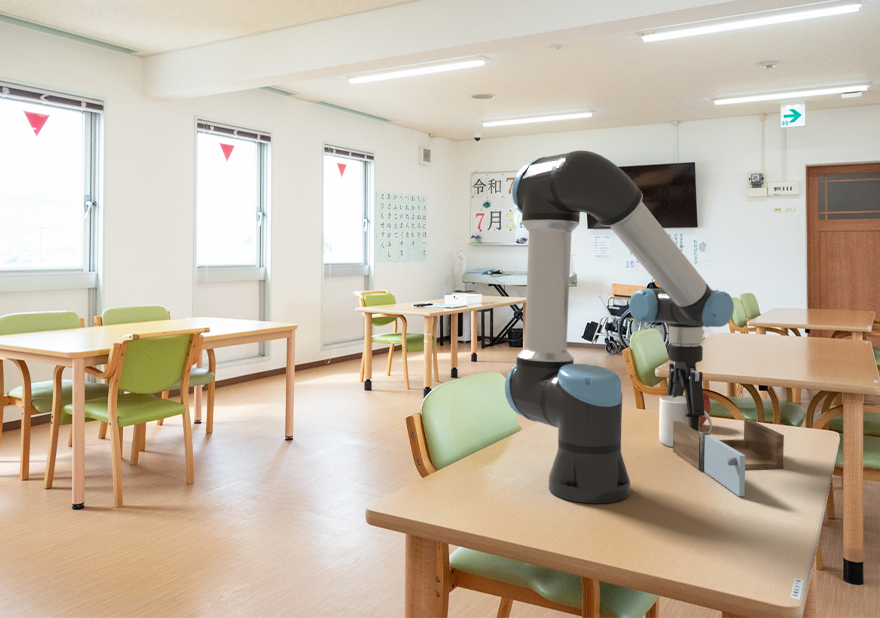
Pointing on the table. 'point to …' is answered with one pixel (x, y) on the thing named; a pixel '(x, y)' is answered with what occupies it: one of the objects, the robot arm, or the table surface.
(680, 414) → the mug
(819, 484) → the table surface
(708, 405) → the apple
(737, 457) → the door
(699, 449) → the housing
